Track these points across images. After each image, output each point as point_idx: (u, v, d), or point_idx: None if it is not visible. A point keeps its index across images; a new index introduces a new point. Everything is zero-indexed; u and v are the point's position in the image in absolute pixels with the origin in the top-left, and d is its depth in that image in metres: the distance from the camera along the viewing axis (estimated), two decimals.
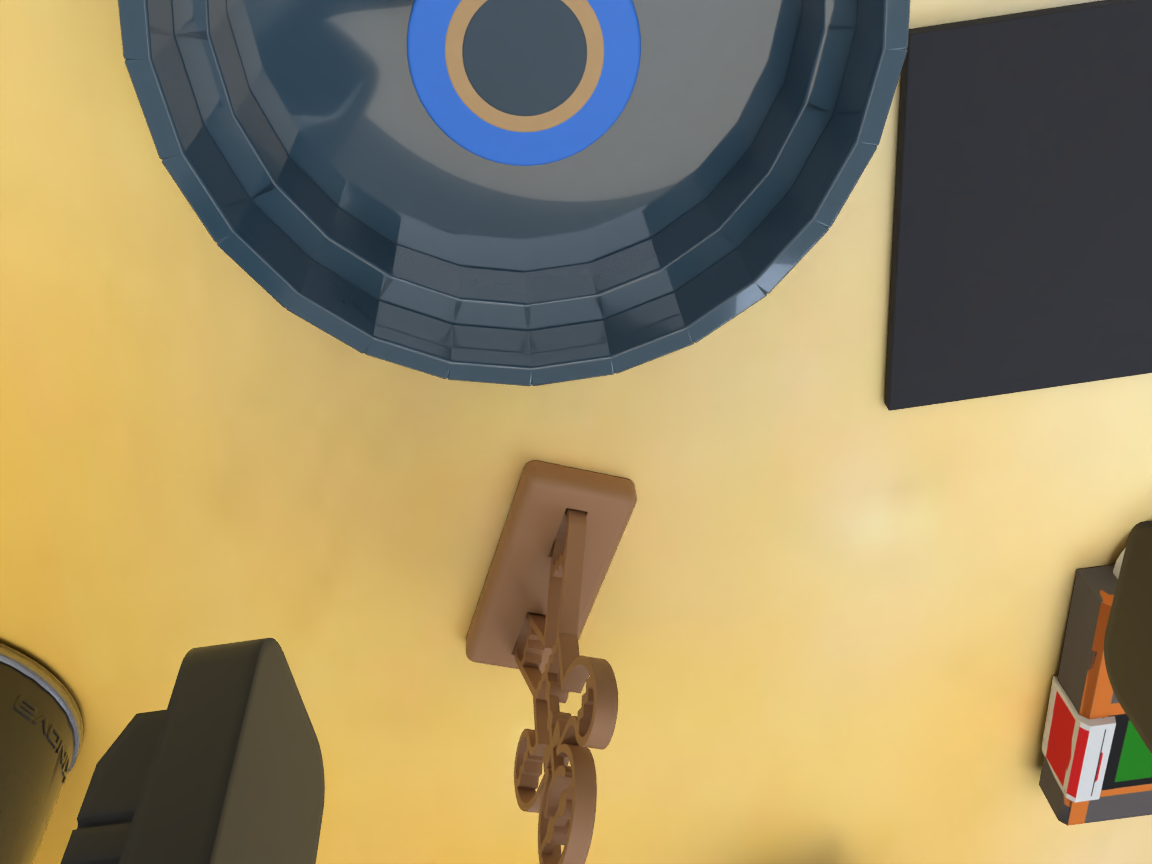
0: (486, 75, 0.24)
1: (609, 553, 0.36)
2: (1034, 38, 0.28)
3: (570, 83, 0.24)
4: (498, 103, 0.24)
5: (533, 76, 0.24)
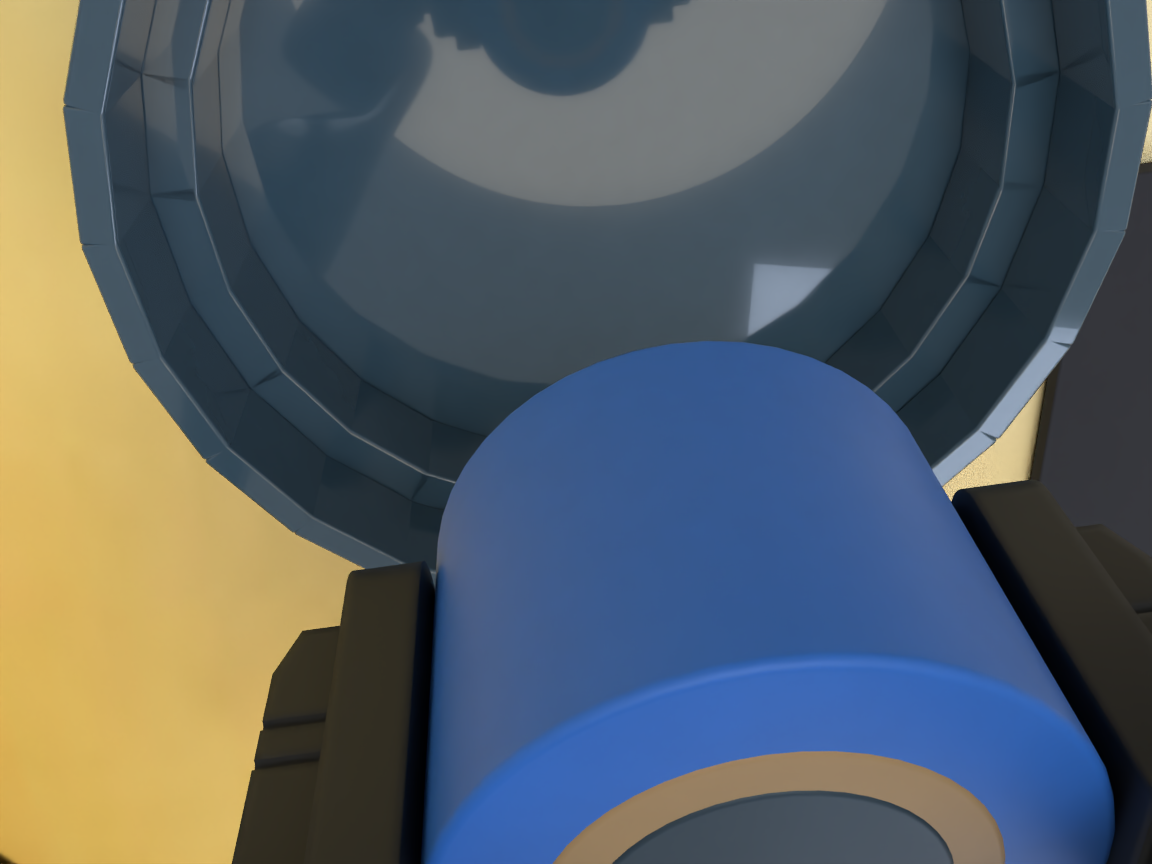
0: None
1: None
2: None
3: None
4: None
5: None
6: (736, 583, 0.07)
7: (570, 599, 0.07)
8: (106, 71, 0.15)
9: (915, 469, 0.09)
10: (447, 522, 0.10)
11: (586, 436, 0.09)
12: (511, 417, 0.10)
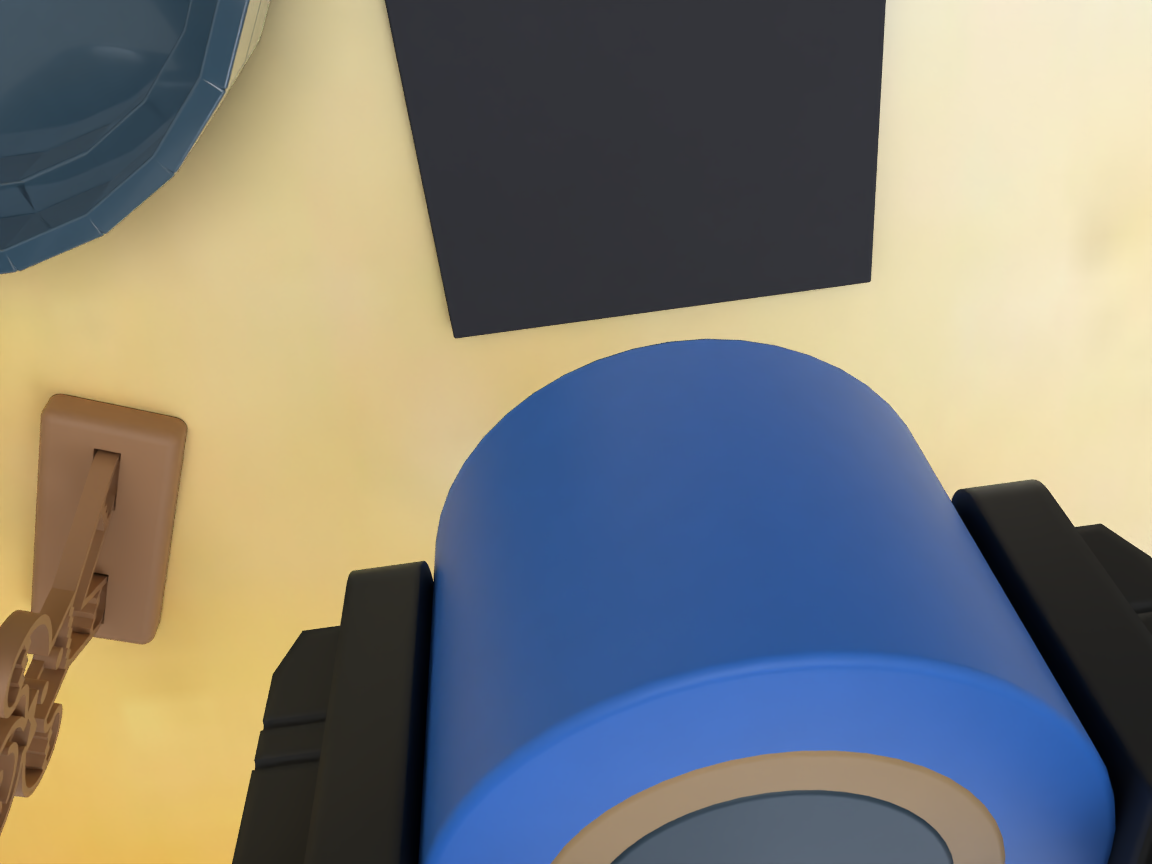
0: None
1: (161, 503, 0.32)
2: None
3: None
4: None
5: None
6: (734, 583, 0.07)
7: (568, 598, 0.07)
8: None
9: (915, 467, 0.09)
10: (445, 521, 0.10)
11: (584, 435, 0.09)
12: (509, 416, 0.10)
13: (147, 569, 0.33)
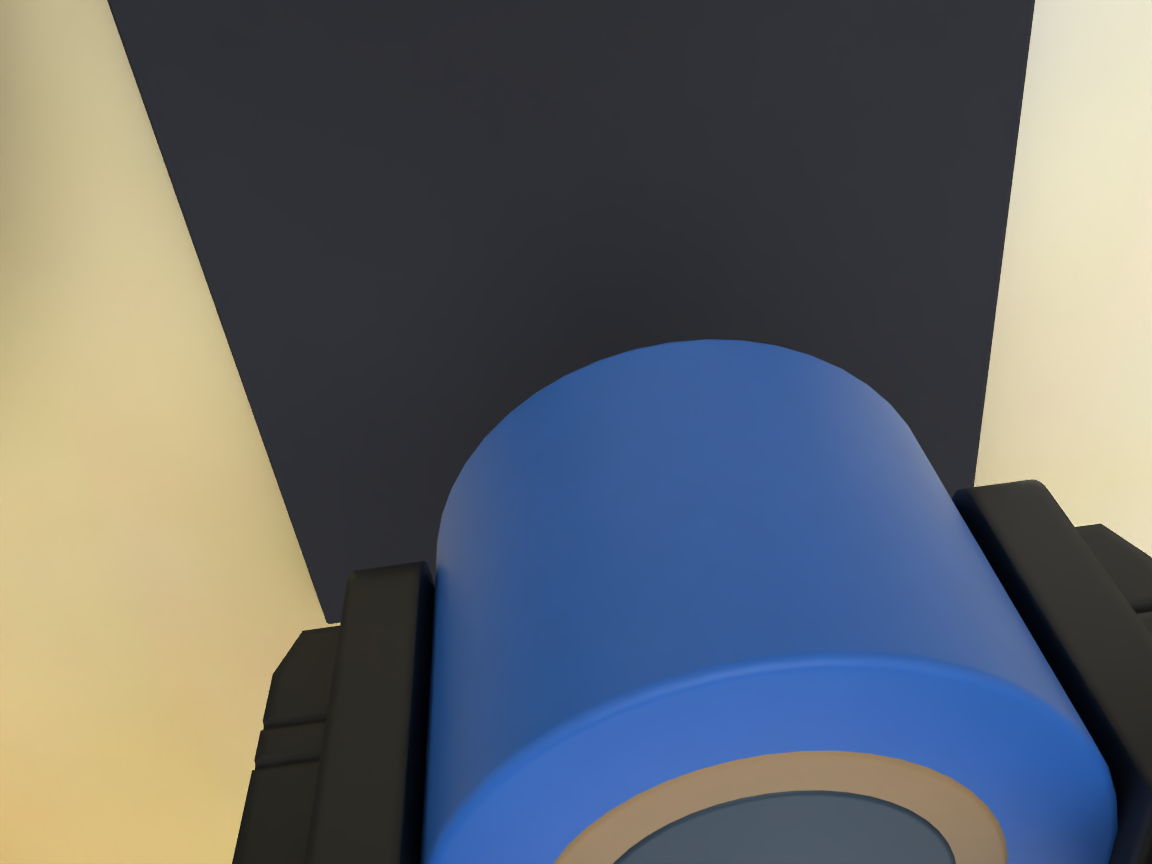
0: None
1: None
2: None
3: None
4: None
5: None
6: (737, 581, 0.07)
7: (570, 598, 0.07)
8: None
9: (918, 467, 0.09)
10: (447, 521, 0.10)
11: (586, 435, 0.09)
12: (511, 416, 0.10)
13: None
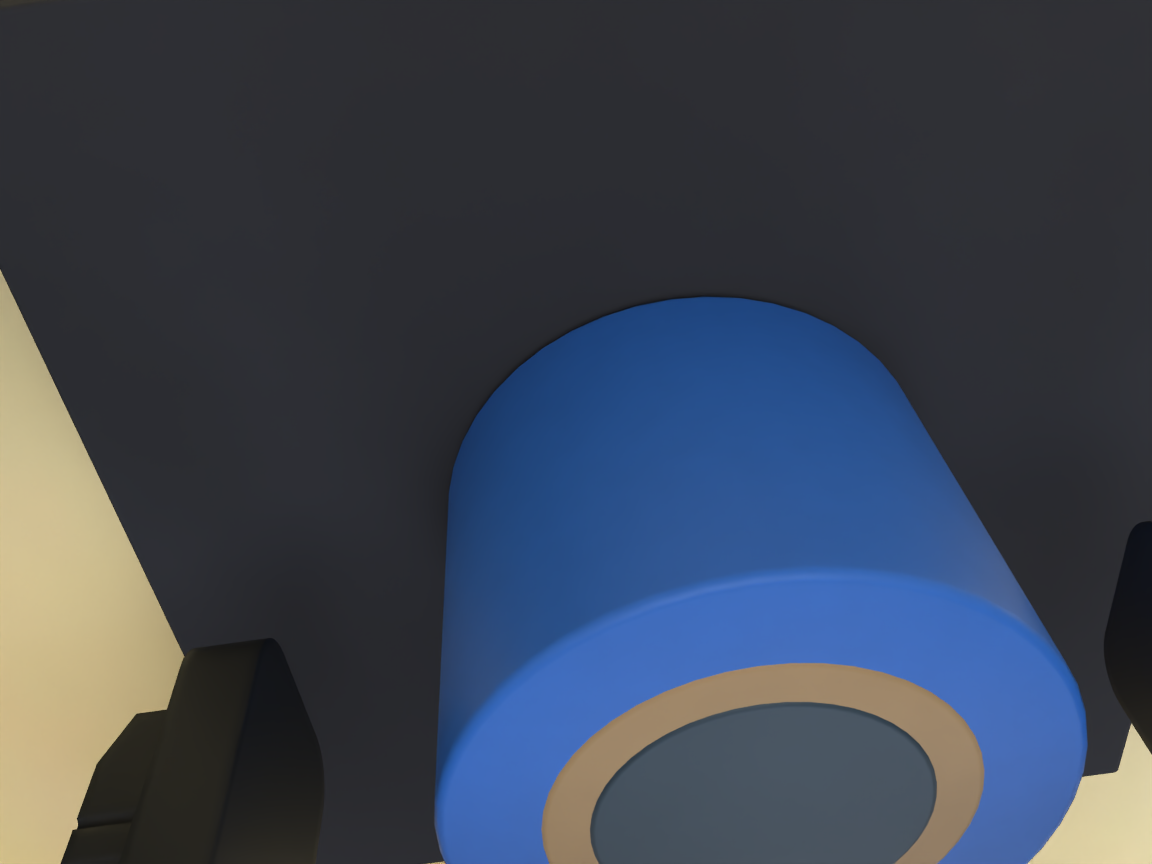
0: (652, 859, 0.09)
1: None
2: (320, 41, 0.09)
3: (874, 863, 0.09)
4: None
5: (779, 855, 0.09)
6: (731, 507, 0.08)
7: (576, 526, 0.08)
8: None
9: (903, 415, 0.10)
10: (458, 470, 0.11)
11: (591, 383, 0.09)
12: (519, 370, 0.10)
13: None
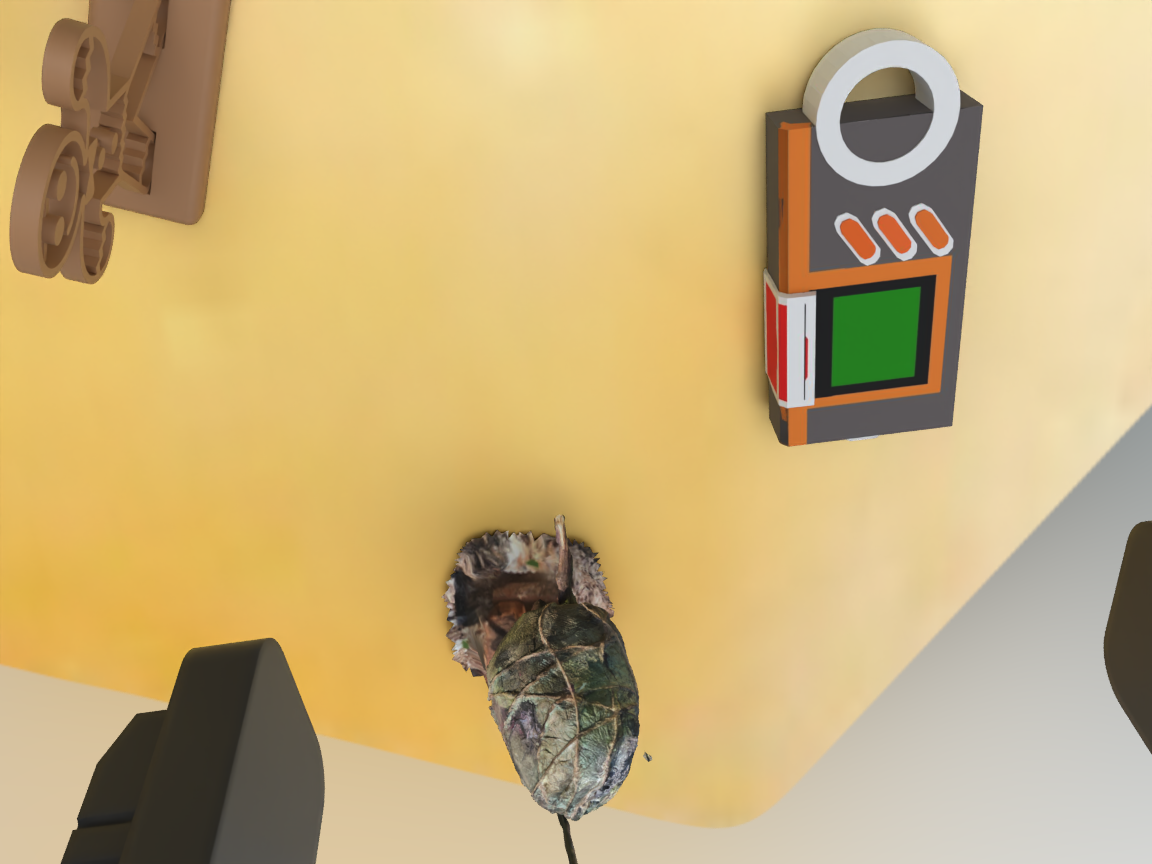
0: None
1: (209, 41, 0.32)
2: None
3: None
4: None
5: None
6: None
7: None
8: None
9: None
10: None
11: None
12: None
13: (194, 126, 0.34)
